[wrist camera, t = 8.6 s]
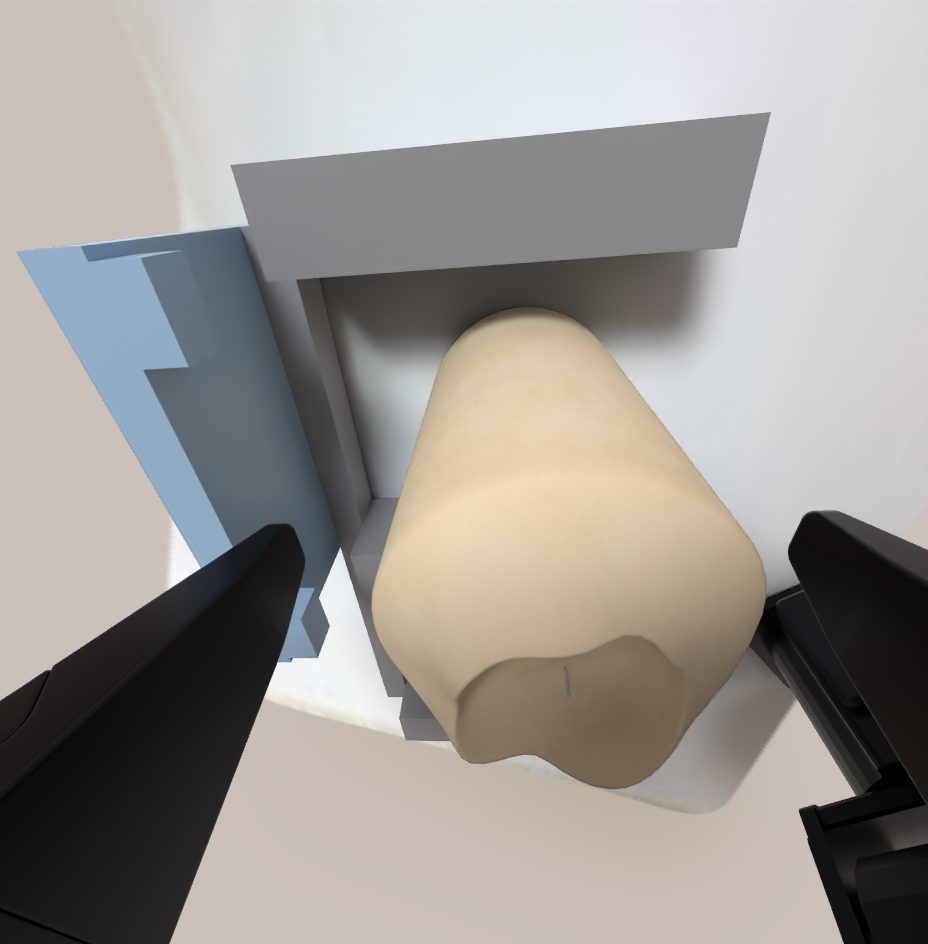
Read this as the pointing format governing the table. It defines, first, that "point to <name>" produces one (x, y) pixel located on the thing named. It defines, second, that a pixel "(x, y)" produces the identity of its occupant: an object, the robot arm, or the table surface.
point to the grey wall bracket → (308, 328)
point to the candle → (560, 560)
